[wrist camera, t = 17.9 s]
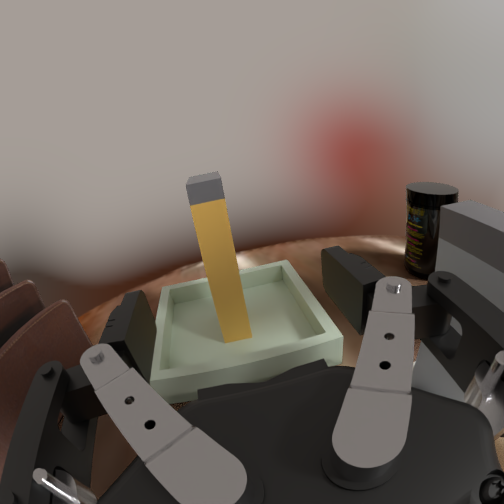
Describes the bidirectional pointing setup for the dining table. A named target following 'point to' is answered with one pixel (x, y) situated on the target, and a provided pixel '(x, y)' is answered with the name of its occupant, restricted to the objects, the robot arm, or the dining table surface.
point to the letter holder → (31, 346)
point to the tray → (243, 351)
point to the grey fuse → (464, 276)
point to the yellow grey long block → (219, 254)
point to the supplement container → (424, 224)
